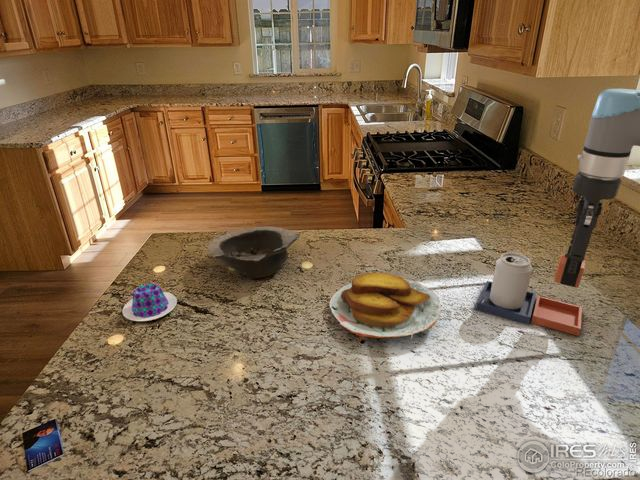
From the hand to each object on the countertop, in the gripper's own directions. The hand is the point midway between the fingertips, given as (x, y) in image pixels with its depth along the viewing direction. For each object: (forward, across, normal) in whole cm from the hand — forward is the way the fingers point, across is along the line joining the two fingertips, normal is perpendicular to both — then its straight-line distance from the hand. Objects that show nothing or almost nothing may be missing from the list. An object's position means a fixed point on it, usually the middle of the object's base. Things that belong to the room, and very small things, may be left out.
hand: (568, 278), depth 92 cm
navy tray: (+10, +1, -11) cm, 15 cm away
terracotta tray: (+10, +1, 0) cm, 10 cm away
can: (+10, +1, -11) cm, 14 cm away
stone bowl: (+10, +15, -75) cm, 77 cm away
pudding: (+10, +45, -82) cm, 94 cm away
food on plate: (+10, +18, -34) cm, 40 cm away
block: (0, 0, 0) cm, 0 cm away
